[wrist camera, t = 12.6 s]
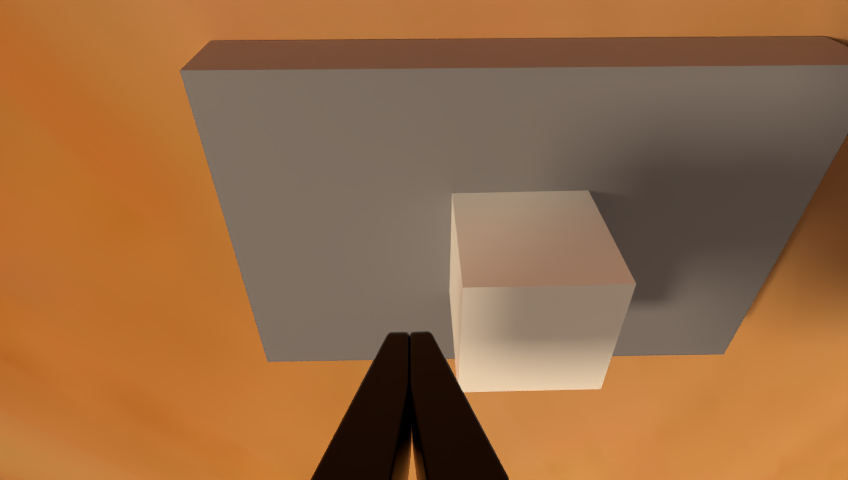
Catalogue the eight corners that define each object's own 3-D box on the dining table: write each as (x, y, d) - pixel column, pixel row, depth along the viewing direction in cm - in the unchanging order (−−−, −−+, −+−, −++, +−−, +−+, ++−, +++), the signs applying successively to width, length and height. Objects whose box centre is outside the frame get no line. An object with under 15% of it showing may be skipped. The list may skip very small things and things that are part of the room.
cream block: (569, 153, 21) (636, 283, 15) (551, 248, 24) (600, 388, 18) (447, 155, 21) (462, 287, 14) (446, 250, 24) (457, 392, 18)
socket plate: (824, 36, 18) (886, 64, 16) (696, 309, 27) (723, 354, 24) (210, 40, 18) (179, 70, 15) (280, 315, 26) (267, 361, 24)
